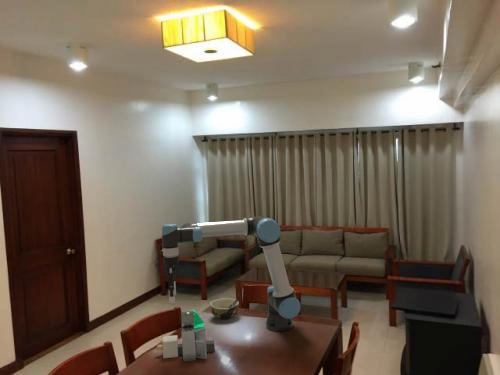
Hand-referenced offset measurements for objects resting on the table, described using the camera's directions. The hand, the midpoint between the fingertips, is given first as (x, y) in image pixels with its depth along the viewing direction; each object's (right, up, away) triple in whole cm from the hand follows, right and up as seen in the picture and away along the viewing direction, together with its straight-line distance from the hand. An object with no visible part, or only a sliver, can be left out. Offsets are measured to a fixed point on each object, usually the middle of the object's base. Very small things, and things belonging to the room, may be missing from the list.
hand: (172, 298), depth 208 cm
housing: (+11, -27, +3) cm, 29 cm away
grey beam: (+6, -28, +2) cm, 28 cm away
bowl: (+23, -24, +48) cm, 58 cm away
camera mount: (+6, -26, +32) cm, 42 cm away
